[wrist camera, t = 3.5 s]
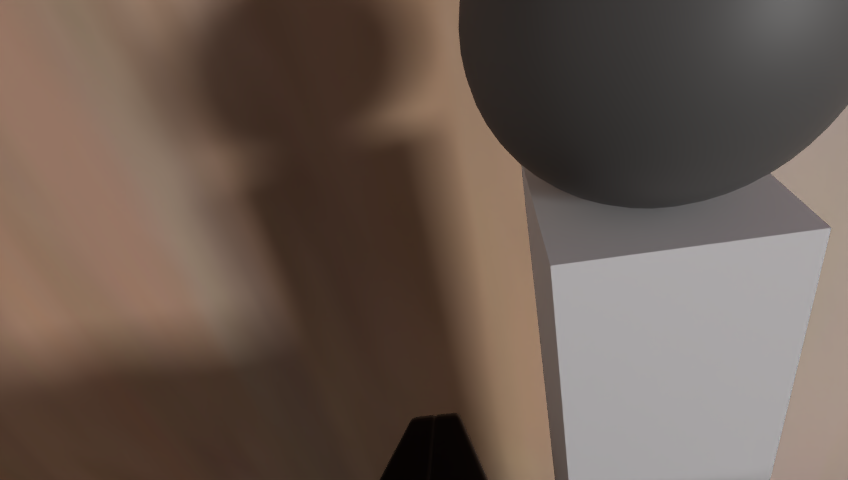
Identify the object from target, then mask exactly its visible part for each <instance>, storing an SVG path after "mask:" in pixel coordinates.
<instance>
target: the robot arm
mask: <svg viewBox="0 0 848 480" xmlns="http://www.w3.org/2000/svg"><path fill="white" fill-rule="evenodd" d="M380 480H488V479H487V477H486V474H485V472H484V470H483V468H482V465H481V463H480V461H479V458H478V456H477V454H476V451H475V449H474V447H473V444H472V442H471V440H470V437H469V435H468V433H467V430H466V428H465V426H464V423H463V421H462V419H461V417H460V415H459V414H457V413H450V414H440V415H437V416H434V415H430V416H421V417H415V418H413V419H412V420H411V421H410V423H409V425H408V427H407V429H406V430H405V432H404V434H403V436H402V438H401V440H400V442H399V444H398V446H397V448H396V450H395V451H394V453H393V455H392V457H391V459H390V461H389V463H388V465H387V467H386V469H385V471H384V472H383V474H382V476H381V478H380Z"/></svg>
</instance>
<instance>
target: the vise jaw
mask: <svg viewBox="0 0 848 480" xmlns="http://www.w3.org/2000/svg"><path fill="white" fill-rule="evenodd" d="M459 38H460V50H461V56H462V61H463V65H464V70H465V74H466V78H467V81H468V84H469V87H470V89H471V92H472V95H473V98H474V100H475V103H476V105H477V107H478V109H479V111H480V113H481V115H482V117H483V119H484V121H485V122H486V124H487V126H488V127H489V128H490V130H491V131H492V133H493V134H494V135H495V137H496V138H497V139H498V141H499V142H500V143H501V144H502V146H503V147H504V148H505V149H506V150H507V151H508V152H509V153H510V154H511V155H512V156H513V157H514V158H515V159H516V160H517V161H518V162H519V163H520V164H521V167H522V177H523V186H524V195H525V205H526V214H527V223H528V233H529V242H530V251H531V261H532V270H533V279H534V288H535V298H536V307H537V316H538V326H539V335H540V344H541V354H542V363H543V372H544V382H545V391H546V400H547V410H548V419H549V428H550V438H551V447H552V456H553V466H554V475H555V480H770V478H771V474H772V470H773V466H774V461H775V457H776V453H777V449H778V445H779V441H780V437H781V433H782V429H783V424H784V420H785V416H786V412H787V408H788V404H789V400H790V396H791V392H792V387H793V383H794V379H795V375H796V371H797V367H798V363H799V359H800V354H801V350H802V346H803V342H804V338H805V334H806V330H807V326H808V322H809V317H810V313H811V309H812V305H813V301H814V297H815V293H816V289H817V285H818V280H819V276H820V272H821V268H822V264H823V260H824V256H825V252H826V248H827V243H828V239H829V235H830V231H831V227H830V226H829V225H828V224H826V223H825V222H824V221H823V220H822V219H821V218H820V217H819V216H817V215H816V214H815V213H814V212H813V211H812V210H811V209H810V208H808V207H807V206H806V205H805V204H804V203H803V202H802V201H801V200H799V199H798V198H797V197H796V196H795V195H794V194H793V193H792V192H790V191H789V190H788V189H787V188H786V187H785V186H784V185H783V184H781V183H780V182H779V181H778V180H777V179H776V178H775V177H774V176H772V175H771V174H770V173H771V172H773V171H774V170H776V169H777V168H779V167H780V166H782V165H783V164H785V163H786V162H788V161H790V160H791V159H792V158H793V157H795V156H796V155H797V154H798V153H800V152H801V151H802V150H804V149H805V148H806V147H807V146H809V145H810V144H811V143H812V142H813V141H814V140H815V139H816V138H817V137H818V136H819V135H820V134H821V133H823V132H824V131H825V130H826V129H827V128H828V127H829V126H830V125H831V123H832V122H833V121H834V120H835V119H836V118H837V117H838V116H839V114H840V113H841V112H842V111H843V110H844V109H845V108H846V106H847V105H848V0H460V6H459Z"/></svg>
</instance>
